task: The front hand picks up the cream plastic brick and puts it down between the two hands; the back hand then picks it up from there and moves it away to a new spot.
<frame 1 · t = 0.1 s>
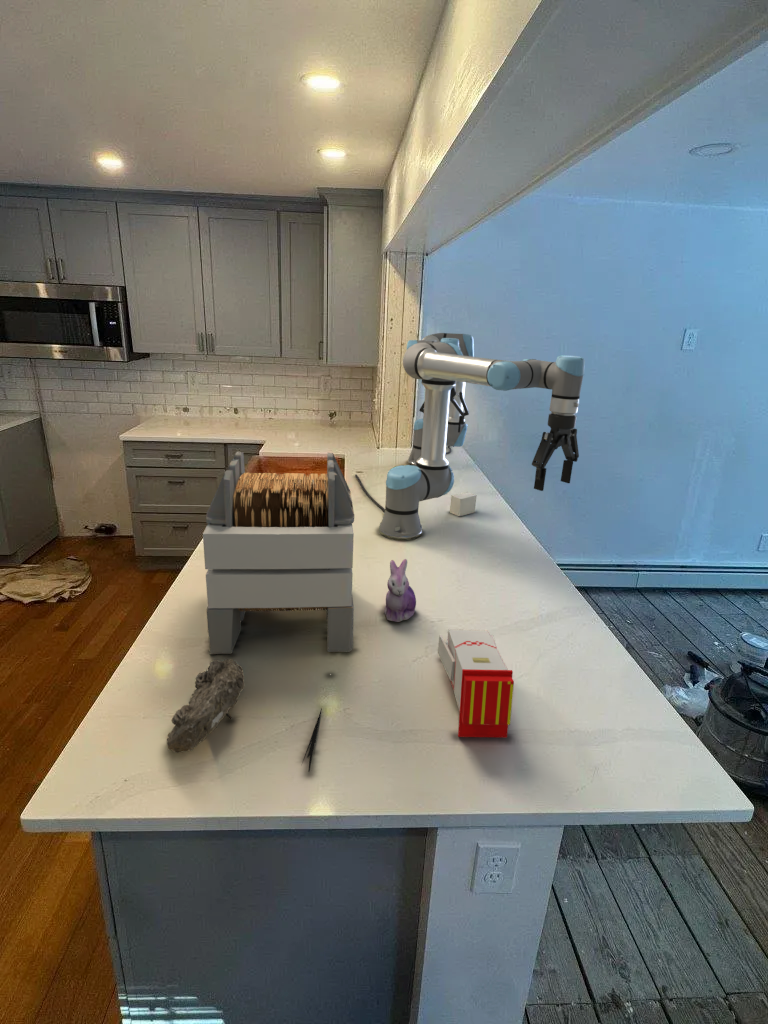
front hand: (552, 485, 166), 28 cm above the counter, tool pointing down, fingers open, 13 cm apart
back hand: (442, 430, 235), 28 cm above the counter, tool pointing down, fingers open, 13 cm apart
grey long lumpy piece: (212, 717, 108), on the counter
figurine: (399, 614, 147), on the counter
toy: (469, 691, 119), on the counter
feather: (319, 719, 109), on the counter
record crate: (285, 616, 144), on the counter
brick: (462, 512, 224), on the counter
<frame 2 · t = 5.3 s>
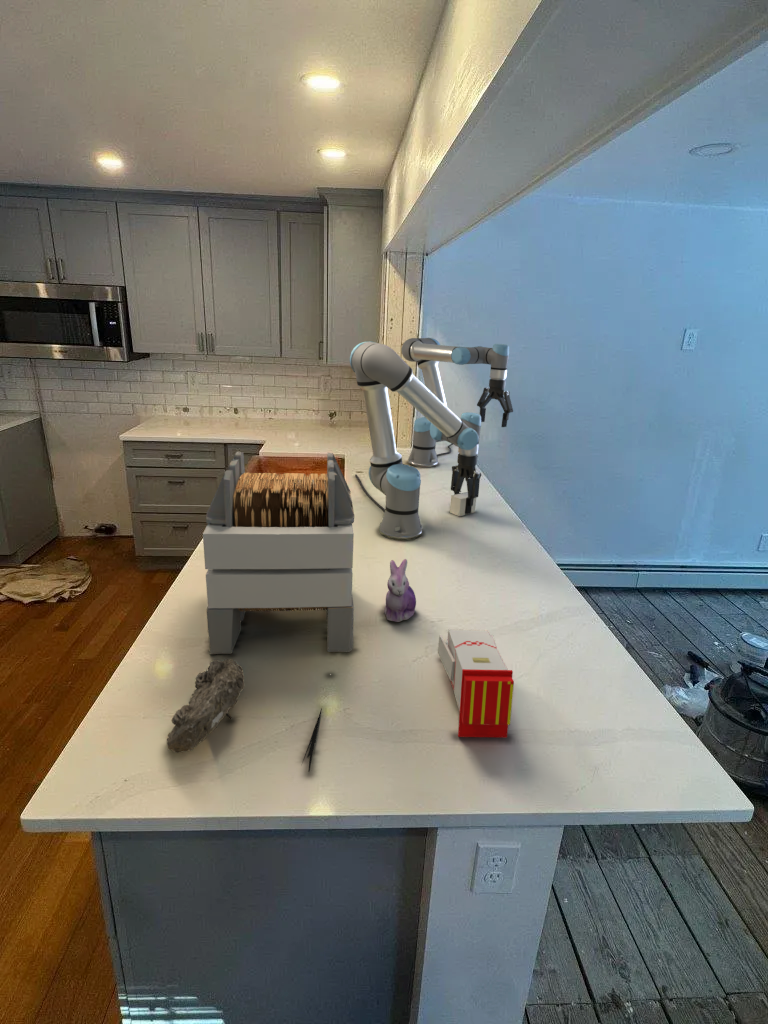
front hand: (462, 511, 224), 1 cm above the counter, tool pointing down, fingers closed on brick, 5 cm apart
back hand: (492, 424, 270), 25 cm above the counter, tool pointing down, fingers open, 13 cm apart
brick: (462, 512, 224), on the counter, touching front hand
everything else where it was.
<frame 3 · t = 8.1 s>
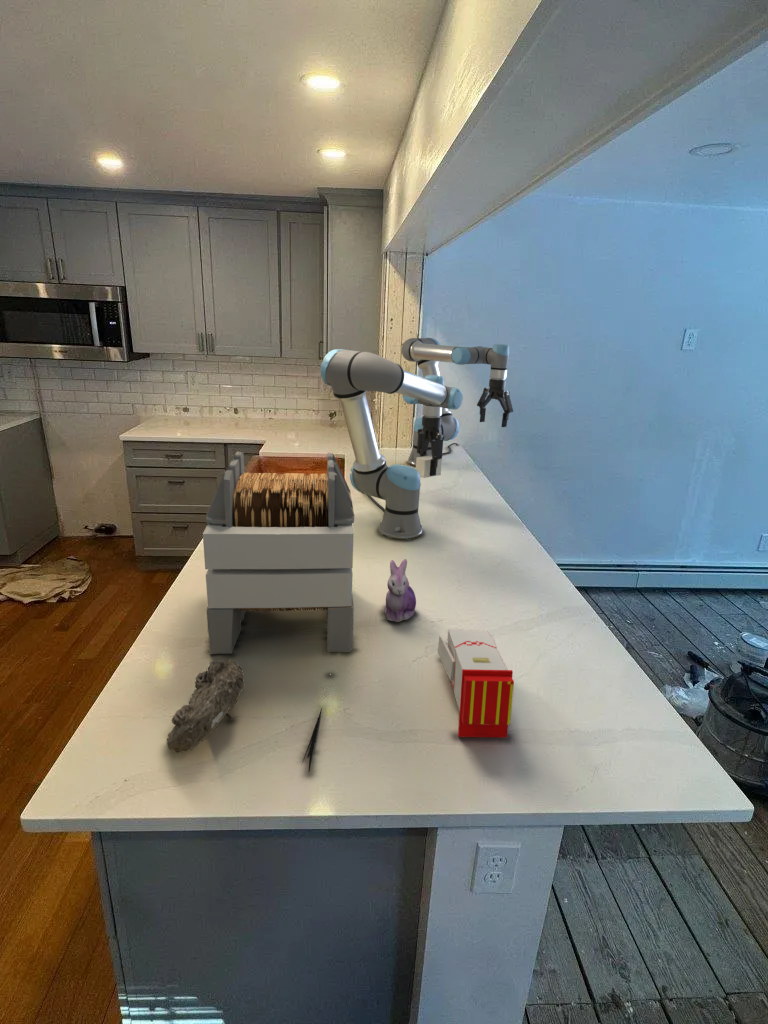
front hand: (427, 473, 228), 13 cm above the counter, tool pointing down, fingers closed on brick, 5 cm apart
back hand: (492, 424, 270), 25 cm above the counter, tool pointing down, fingers open, 13 cm apart
brick: (427, 474, 229), point 12 cm above the counter, touching front hand
everything else where it was.
when the front hand's fingers open (2 cm above the counter, at t = 11.0 s): brick drops 2 cm, on the counter.
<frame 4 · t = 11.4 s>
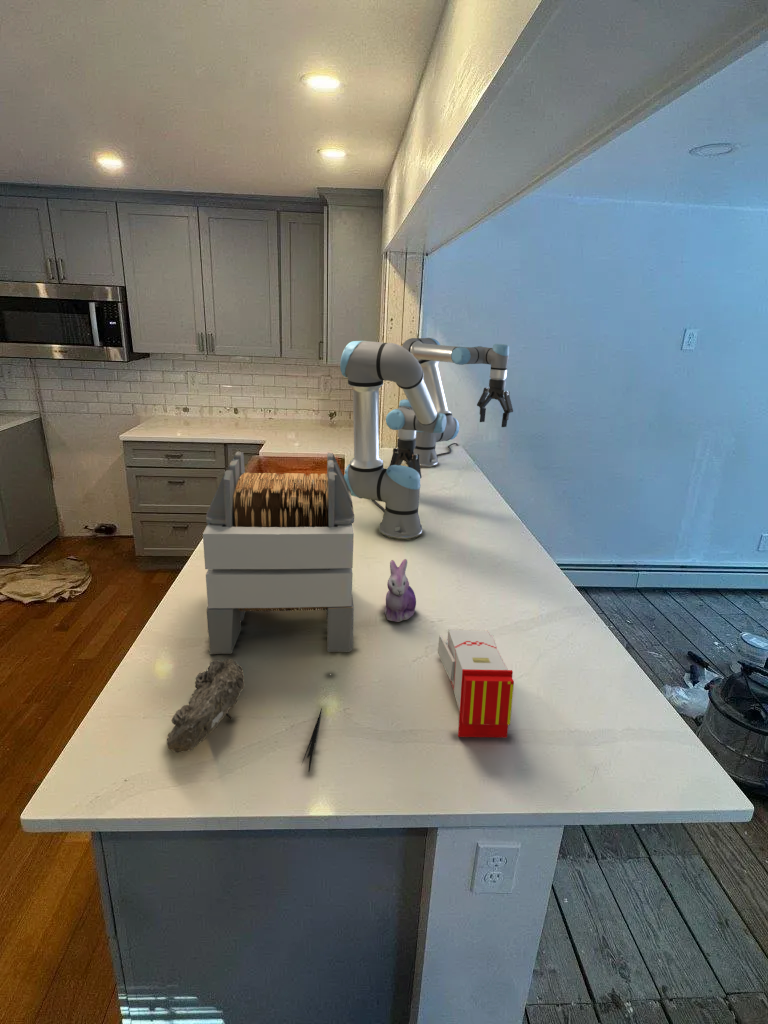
front hand: (403, 490, 237), 3 cm above the counter, tool pointing down, fingers open, 10 cm apart
back hand: (492, 424, 270), 25 cm above the counter, tool pointing down, fingers open, 13 cm apart
brick: (403, 497, 238), on the counter
everything else where it was.
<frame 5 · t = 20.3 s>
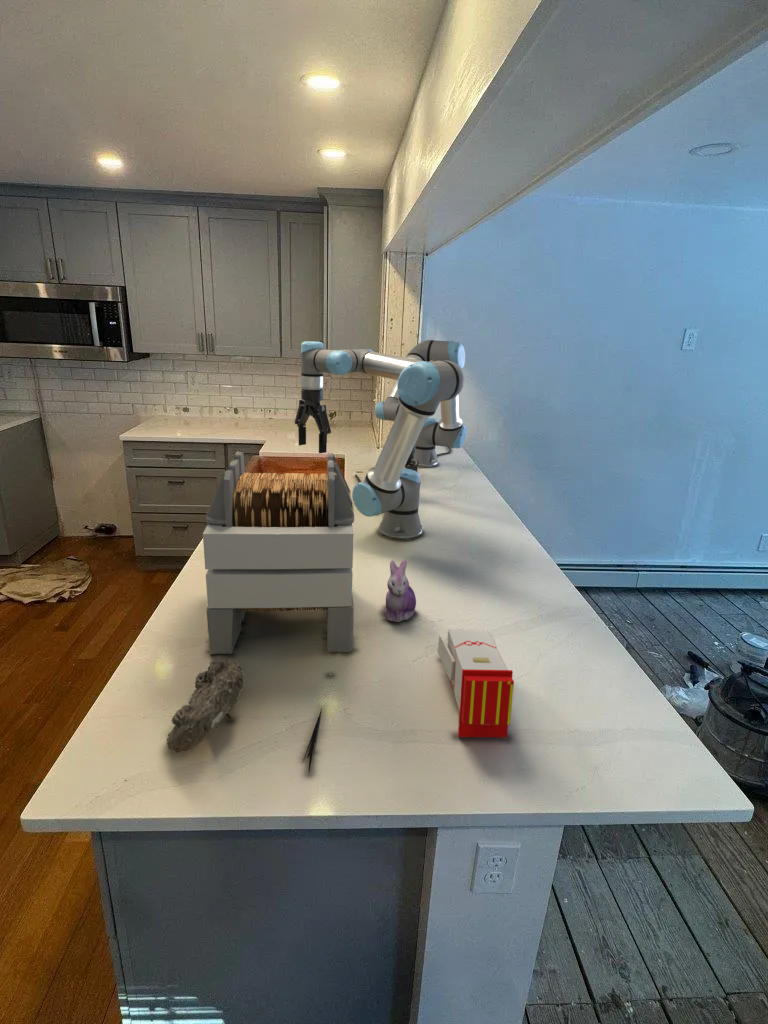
front hand: (312, 448, 202), 26 cm above the counter, tool pointing down, fingers open, 13 cm apart
back hand: (403, 496, 238), 1 cm above the counter, tool pointing down, fingers closed on brick, 5 cm apart
brick: (403, 497, 238), on the counter, touching back hand
everything else where it was.
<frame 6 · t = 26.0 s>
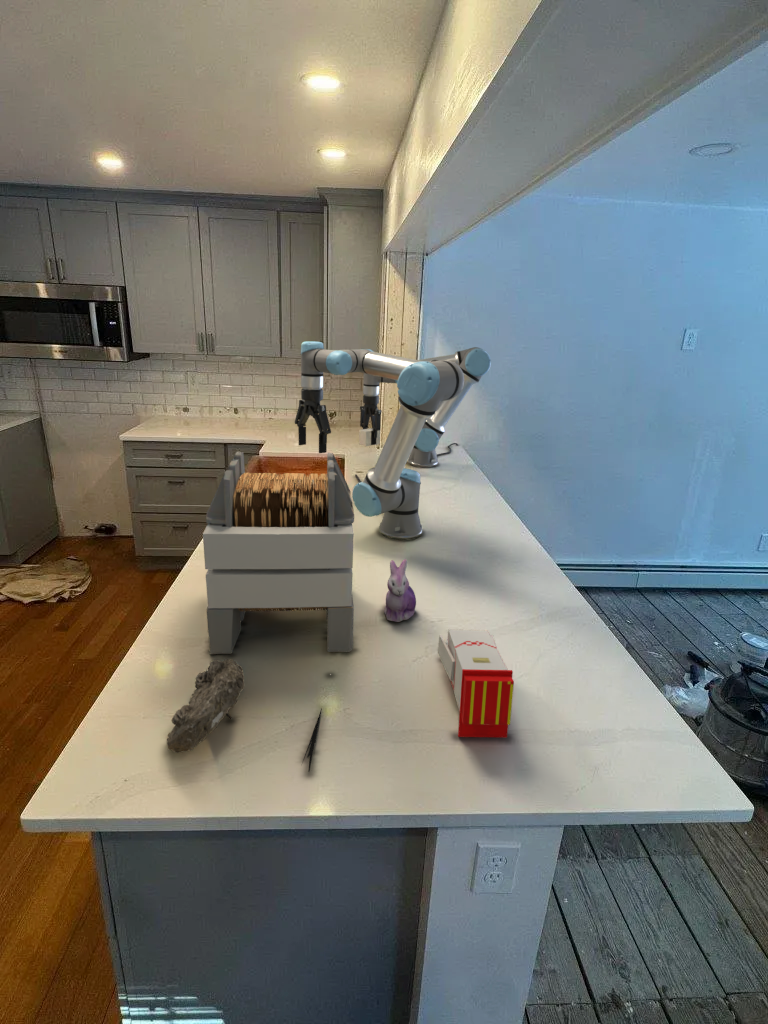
front hand: (312, 448, 202), 26 cm above the counter, tool pointing down, fingers open, 13 cm apart
back hand: (369, 443, 276), 13 cm above the counter, tool pointing down, fingers closed on brick, 5 cm apart
brick: (369, 444, 276), point 12 cm above the counter, touching back hand
everything else where it was.
when the back hand's fingers open (2 cm above the counter, at t = 31.5 s): brick drops 2 cm, on the counter.
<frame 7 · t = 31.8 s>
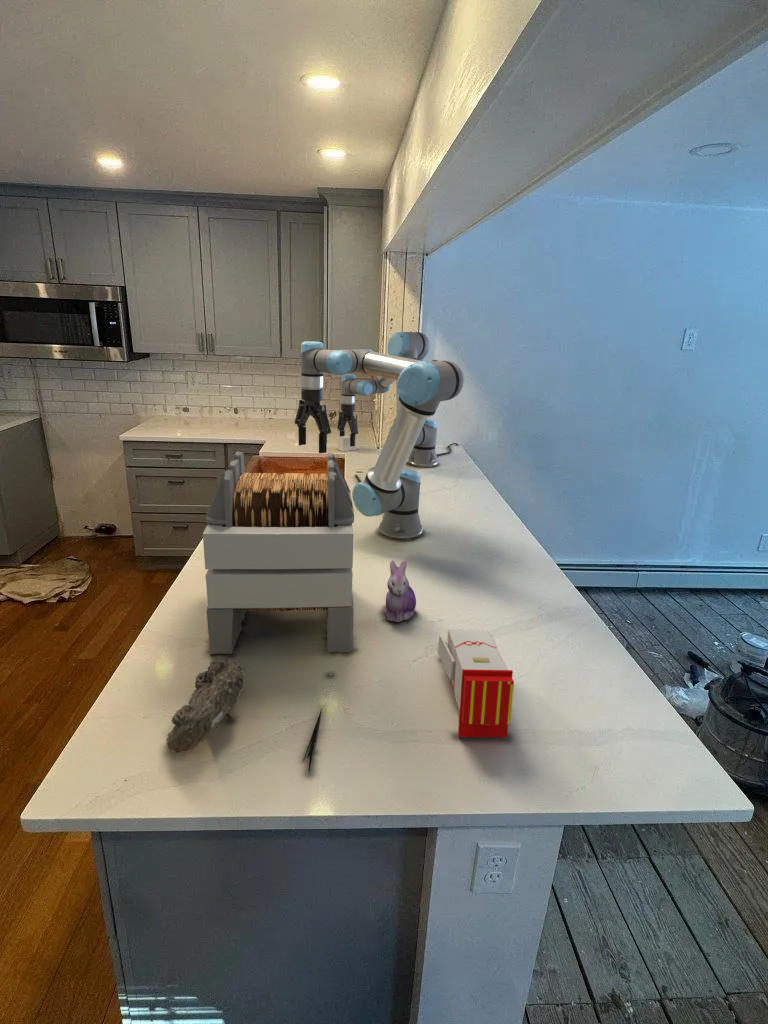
front hand: (312, 448, 202), 26 cm above the counter, tool pointing down, fingers open, 13 cm apart
back hand: (347, 444, 313), 3 cm above the counter, tool pointing down, fingers open, 9 cm apart
brick: (347, 449, 314), on the counter
everything else where it was.
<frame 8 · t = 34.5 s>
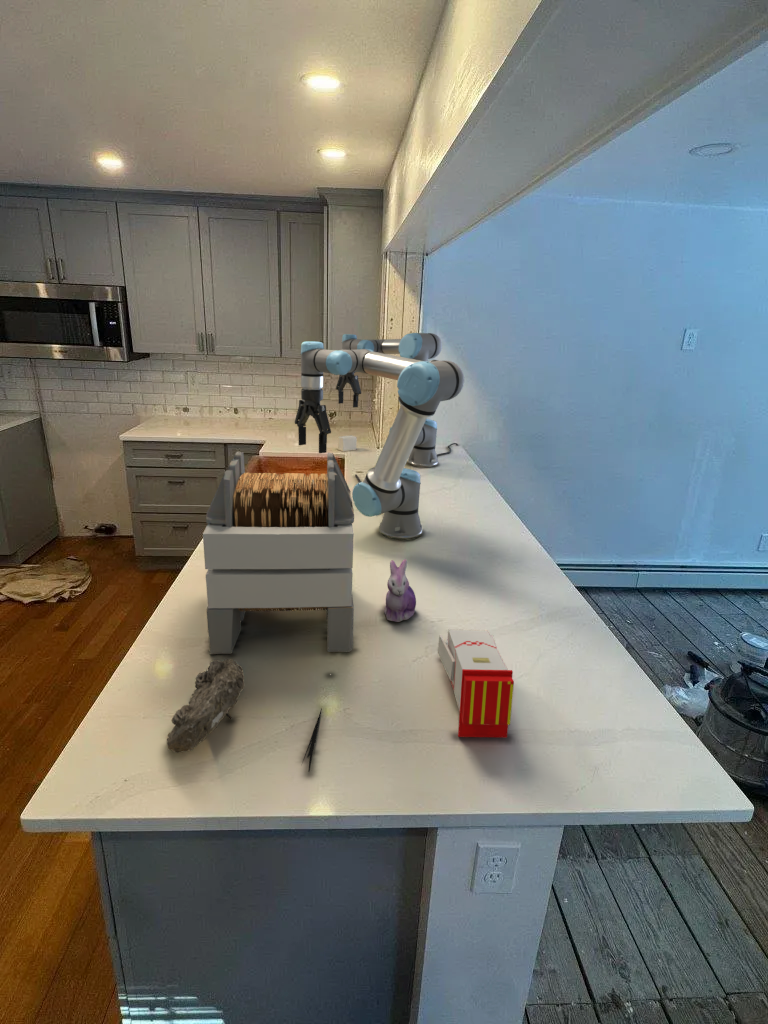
front hand: (312, 448, 202), 26 cm above the counter, tool pointing down, fingers open, 13 cm apart
back hand: (348, 405, 306), 24 cm above the counter, tool pointing down, fingers open, 13 cm apart
nothing on the counter moved.
at the end: brick inside the target area (0.1 cm from its centre), on the counter; brick tilted 0°; the two hands never held the brick at the same time; the front hand is holding nothing; the back hand is holding nothing; brick at rest at the end (0.0 cm/s) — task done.
